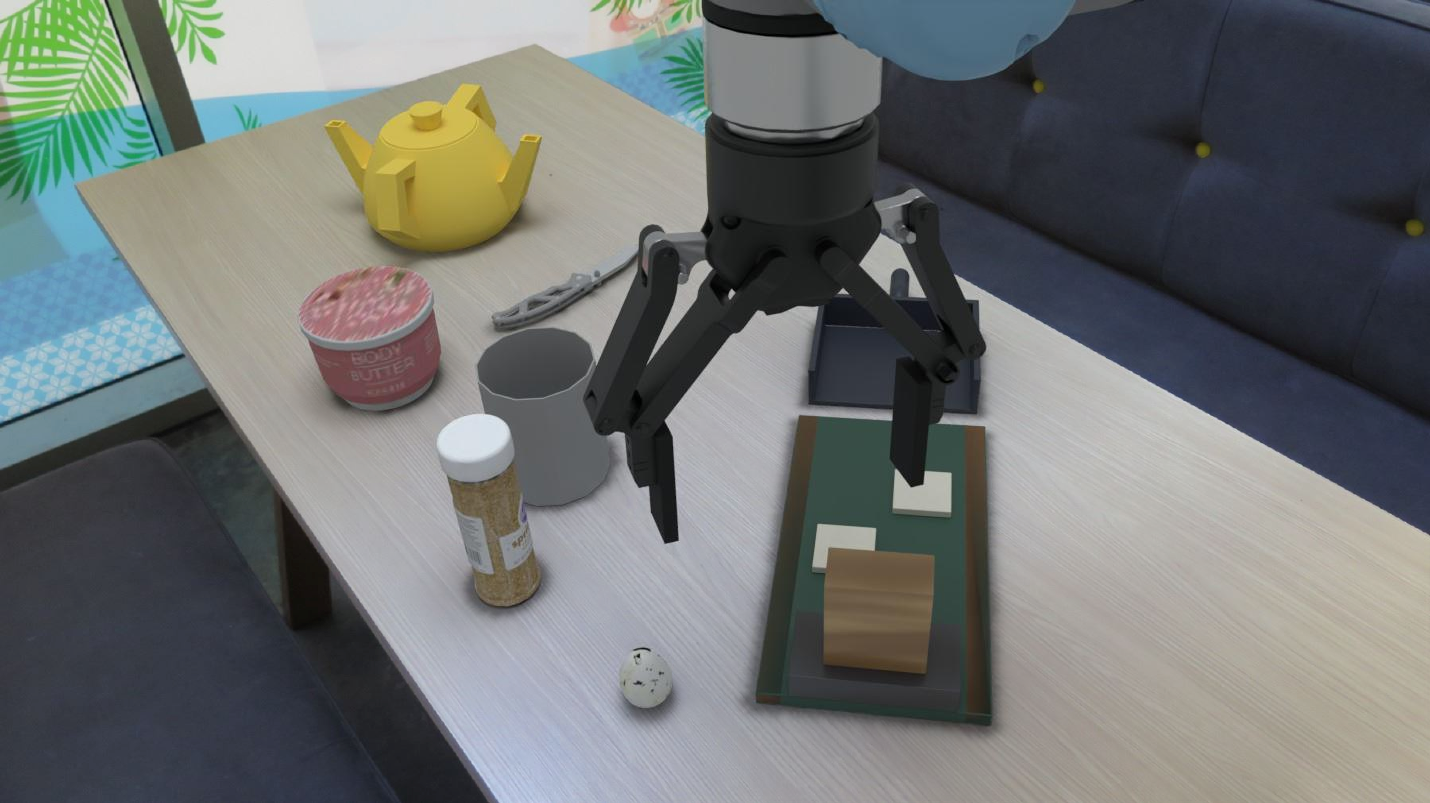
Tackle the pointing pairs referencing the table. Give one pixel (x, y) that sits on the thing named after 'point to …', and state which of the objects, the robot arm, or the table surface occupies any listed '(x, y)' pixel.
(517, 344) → the cup
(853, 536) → the white flat square block
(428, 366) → the container
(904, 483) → the smudge
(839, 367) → the dustpan
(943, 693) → the eraser
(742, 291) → the robot arm
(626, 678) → the egg
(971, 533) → the chalkboard
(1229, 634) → the table surface
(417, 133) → the teapot
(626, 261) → the knife
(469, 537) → the sprinkles bottle
